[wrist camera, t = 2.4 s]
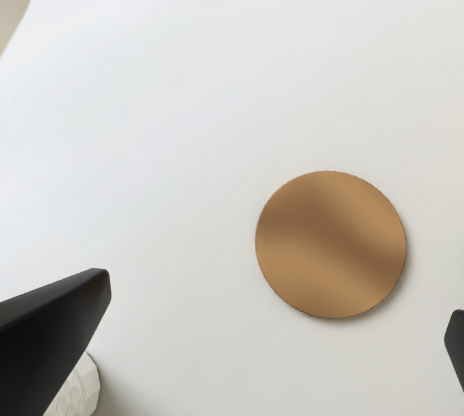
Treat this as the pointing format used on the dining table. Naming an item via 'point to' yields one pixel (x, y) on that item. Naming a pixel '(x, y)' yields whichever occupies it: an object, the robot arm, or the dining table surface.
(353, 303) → the coaster
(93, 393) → the white cup
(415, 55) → the dining table surface
